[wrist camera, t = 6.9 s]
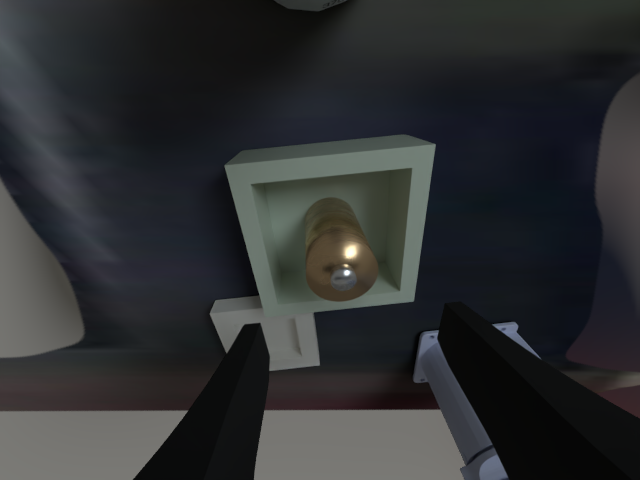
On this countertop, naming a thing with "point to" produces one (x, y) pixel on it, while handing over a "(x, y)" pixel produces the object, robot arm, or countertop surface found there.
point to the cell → (337, 252)
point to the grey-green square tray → (340, 182)
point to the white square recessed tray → (269, 331)
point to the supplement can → (309, 4)
